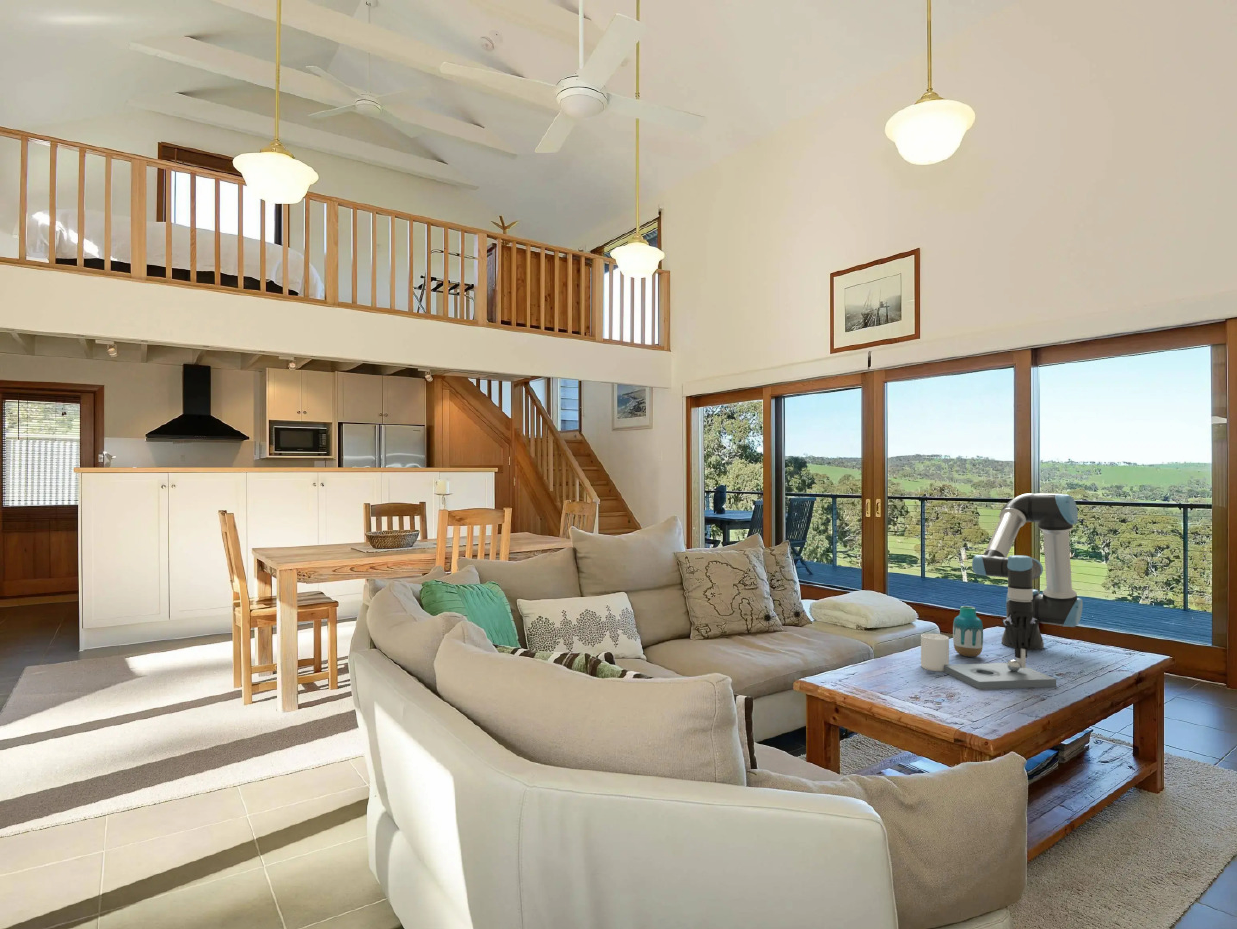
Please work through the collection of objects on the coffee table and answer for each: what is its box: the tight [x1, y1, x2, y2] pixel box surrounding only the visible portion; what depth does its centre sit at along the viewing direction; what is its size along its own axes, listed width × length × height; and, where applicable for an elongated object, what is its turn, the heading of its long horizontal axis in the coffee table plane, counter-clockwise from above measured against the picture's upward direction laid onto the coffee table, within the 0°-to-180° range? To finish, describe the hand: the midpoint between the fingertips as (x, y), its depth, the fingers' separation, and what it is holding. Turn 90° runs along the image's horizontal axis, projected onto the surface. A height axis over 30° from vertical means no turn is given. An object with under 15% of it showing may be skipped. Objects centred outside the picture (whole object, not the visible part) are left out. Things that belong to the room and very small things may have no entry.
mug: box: [920, 633, 950, 673], centre depth 254 cm, size 10×12×12 cm
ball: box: [1006, 659, 1020, 672], centre depth 240 cm, size 4×4×4 cm
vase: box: [952, 605, 984, 658], centre depth 269 cm, size 11×11×19 cm
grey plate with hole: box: [943, 662, 1057, 690], centre depth 239 cm, size 28×20×2 cm
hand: (1021, 667), depth 240 cm, fingers closed
